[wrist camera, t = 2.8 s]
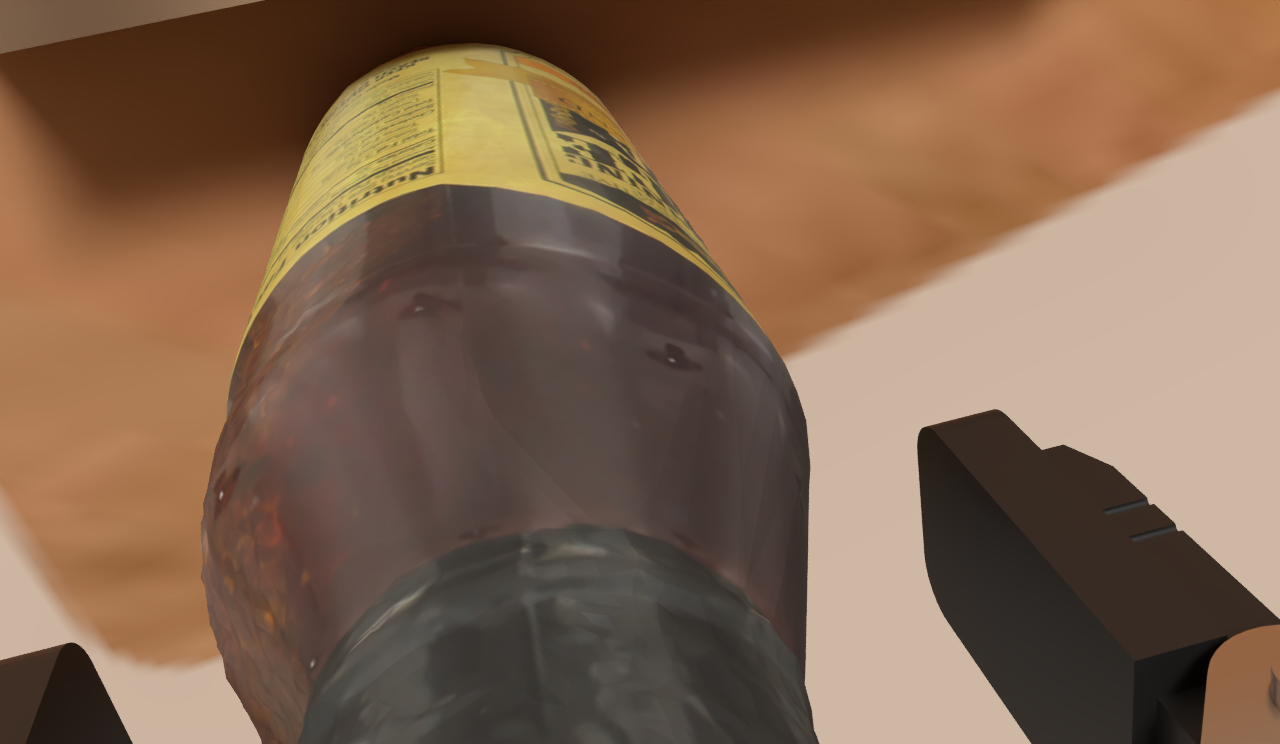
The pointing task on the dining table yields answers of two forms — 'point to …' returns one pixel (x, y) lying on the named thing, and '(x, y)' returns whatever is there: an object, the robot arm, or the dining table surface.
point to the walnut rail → (88, 17)
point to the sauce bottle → (503, 441)
